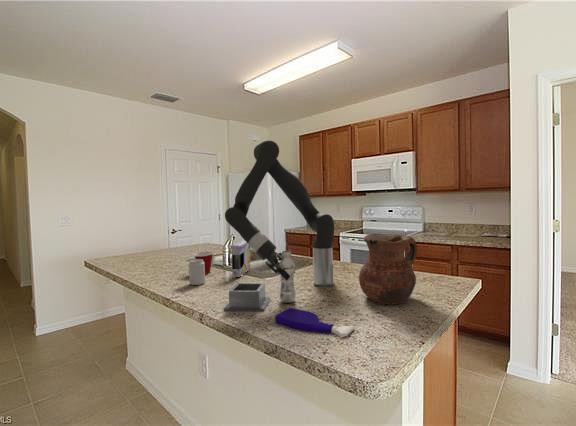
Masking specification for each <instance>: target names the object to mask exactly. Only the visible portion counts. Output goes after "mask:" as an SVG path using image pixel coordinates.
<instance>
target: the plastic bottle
mask: <svg viewBox="0 0 576 426" xmlns="http://www.w3.org/2000/svg"><path fill="white" fill-rule="evenodd" d="M281 253H282V259H281V261H280V262H281V266H282V267H283V270H285V271H286V272H287V273H288V274H289V275H290V278H289V279H288V280H285V279H284V277H283V276H282V275H281V274H280V273H279V278H280V288H279V289H280V290H279V300H280V301H281V302H282V303H285V304H287V303H288V304H290V303H293V302H295V300H296V297H297V294H296V293H297V292H296V289H295V273H294V271H295V266H296V264H295V262H294V260H293V259H292V258H291V257H292V251H291V250H282V251H281Z"/></svg>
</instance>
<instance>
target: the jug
mask: <svg viewBox="0 0 576 426" xmlns="http://www.w3.org/2000/svg"><path fill="white" fill-rule="evenodd" d="M363 240H364V242H365V244H366V246H367V248H368V255H369V256H368V260H367V261H366V262H365V263H364V264H363V265H362V266H361V268H360V271H359V274H358V275H359V276H358V281H359V285H360V289H361V291H362V292H363V294H364V295H365V297H367V298H368V299H370V300H371V301H373V302H374V303H377V304H380V305H381V304H382V305H397V304H402V303H404V302H406V301H407V300H408V299H409V298H410V297H411V295H413V291H414V289H415V287H416V283H417V278H416V276H417V275H416V274H415V272H414V270H413V266H412V265H413V264H414V262H415V259H416V257H417V255H418V245H417V242H416V240H415V239H414V238H413V237H412V236H409V235H406V234H401V235H399V234H389V235H388V234H383V233H381V234H380V233H371V234H368V235H367V234H366V235H365V236H364V237H363ZM408 245H409V252H408V255H406V257H405V251H406V249H407V247H408Z"/></svg>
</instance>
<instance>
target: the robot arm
mask: <svg viewBox="0 0 576 426" xmlns="http://www.w3.org/2000/svg"><path fill="white" fill-rule="evenodd" d="M279 154H280V147H279V145H278V144H277V142H275V141H274V140H272V139H269V140H268V139H267V140H263V141H262V142H260V143H259V144H257V145H256V146H255V147H254V149H253V157H254V159H255V163H254V165H253V166H252V168H251V170H250V172H249V173H248V174H247V176H246V177H245V178H244V180H243V181H242V182H241V185H240V186H239V189H238V191H237V193H236V195H235V197H234V204H233V206H231V207H229V208H227V209H226V211H225V212H224V218H225V221H226V222H227V224H229V225H230V226H231V227H232V228H233V229H234V230H235V231H236V232H237V233H239V235H240V237H241V238H242V239H243V240H245V241H246V242H247V243H248V244H249V246H250V249H252V250H253V252H254V253H255V254H256V255H257V256H258V257H259V258H260V259H261V260H262V261H265V260H266V261H265V262H264V263H265V264H266V265H267V267H269V269H271V270H272V271H273V273H274V274H279V275H280V274H281V275H282V276H283V277H284V279H285V280H288V279H289V278H290V275H289V274H288V273H287V272H286V271H285V270H283V267H282V266H281V262H280V261H281V259H282V252H279V253H278V252H276V249H277V246H276V245H275V244H274V243H273V242H272V241H271V239H269V238H268V236H266V234H264V233H263V232H261V230H260V229H258V227H257V226H256V225H255V224H253V222H251V221H250V220H249V218H248V217H247V216H248V212H249V209H250V206H251V205H252V202H253V200H254V198H255V196H256V194H257V192H258V189H259V188H260V186H261V184H262V182H263V180H264V179H265V177H266V175H267V173H268V174H269V175H270V176H271V177H272V179H273V180H274V182H275V184H277V186H278V187H279V188H280V190H282V192H283V194H284V195H285V196H286V198H287V199H289V201H290V202H291V203H292V204H293V206H294V207H295V208H296V209H297V210H298V211H299V212H300V214H301V215H302V217H303V218H304V220H305V221H306V224H307V225H308V227H309V228H310V229H311V230H312V231H313V232H315V233H316V239H315V240H313V241H312V260H313V261H312V262H313V265H312V266H313V270H312V271H313V284H314V285H317V286H322V287H323V286H325V287H326V286H330V285H331V286H332V285H334V263H333V259H334V257H333V244H334V240H335V221H334V218H333V217H332V216H331V215H330V214H327V213H321V212H320V211H319V210H318V209H317V208H316V207H315V206H314V204H313V203H312V200H311V198H310V194H309V191H308V189H307V188H306V186H305V185H304V184H303V182H302V181H301V179H299V178H298V176H297V175H295V174H294V173H293V172H291V171H290V170H288V169H287V168H286V167H284V165H282V163H280V161H279V160H278V157H279ZM295 273H296V271H295V270H294V274H295Z"/></svg>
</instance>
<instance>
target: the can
mask: <svg viewBox="0 0 576 426" xmlns="http://www.w3.org/2000/svg"><path fill="white" fill-rule="evenodd" d="M188 274H189V279H188V280H189V285H191V286H193V285H198V286H202V285H204V284H205V283H206V275H205V263H204V262H203V260H202V259H196V258H195V259H190V260H189V263H188ZM201 284H202V285H201Z"/></svg>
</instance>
